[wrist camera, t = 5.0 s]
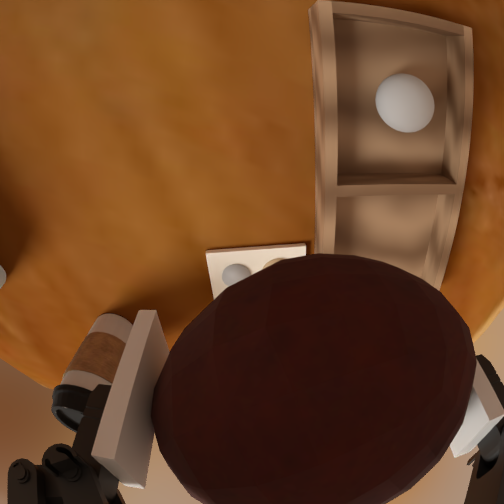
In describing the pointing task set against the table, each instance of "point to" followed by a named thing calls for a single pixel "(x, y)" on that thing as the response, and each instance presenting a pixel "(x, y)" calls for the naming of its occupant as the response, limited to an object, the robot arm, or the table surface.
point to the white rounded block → (2, 276)
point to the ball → (404, 102)
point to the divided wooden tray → (389, 135)
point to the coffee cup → (90, 368)
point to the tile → (245, 262)
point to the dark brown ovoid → (314, 385)
